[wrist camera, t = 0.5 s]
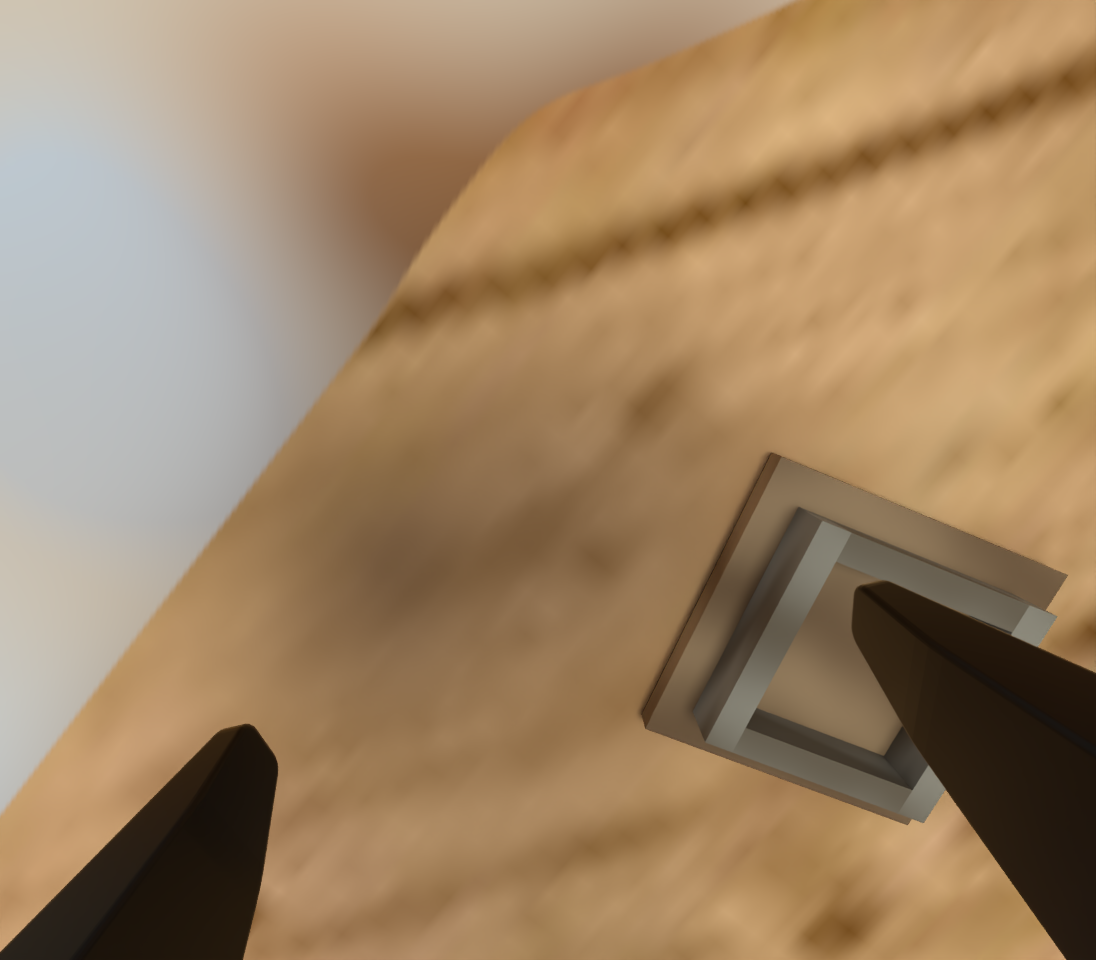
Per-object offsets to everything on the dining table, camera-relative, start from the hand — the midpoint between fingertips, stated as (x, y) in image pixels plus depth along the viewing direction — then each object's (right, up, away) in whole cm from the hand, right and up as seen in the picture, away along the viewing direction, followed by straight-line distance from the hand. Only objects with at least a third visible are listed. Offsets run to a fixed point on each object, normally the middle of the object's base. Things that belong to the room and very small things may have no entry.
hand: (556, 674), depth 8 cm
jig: (+13, -4, +16) cm, 21 cm away
